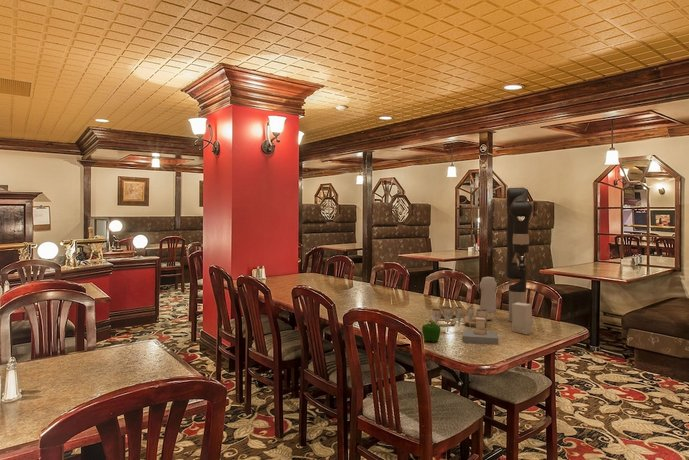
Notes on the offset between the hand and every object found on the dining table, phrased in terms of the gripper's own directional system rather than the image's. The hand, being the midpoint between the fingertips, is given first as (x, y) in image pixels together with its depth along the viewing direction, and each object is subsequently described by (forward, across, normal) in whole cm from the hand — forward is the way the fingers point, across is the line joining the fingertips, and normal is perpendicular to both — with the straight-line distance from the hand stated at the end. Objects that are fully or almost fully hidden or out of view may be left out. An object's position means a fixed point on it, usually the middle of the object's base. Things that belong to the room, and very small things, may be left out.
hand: (520, 275), depth 224 cm
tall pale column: (+32, -53, -15) cm, 63 cm away
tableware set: (+32, -25, -30) cm, 50 cm away
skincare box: (+31, -8, +1) cm, 32 cm away
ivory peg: (+30, +10, -19) cm, 37 cm away
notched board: (+30, +12, -19) cm, 38 cm away
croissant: (+30, +28, -59) cm, 72 cm away
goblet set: (+31, +1, -30) cm, 43 cm away
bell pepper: (+30, +19, -42) cm, 55 cm away
